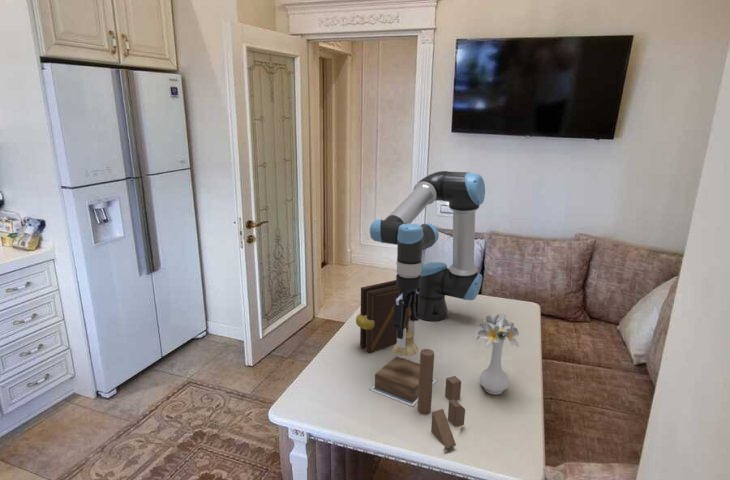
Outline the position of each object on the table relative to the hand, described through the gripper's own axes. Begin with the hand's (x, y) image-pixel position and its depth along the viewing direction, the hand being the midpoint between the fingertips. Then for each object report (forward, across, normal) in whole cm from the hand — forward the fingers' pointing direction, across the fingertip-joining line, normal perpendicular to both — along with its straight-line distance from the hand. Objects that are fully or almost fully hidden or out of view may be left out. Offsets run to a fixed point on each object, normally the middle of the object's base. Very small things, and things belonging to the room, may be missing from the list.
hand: (405, 342), depth 143 cm
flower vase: (+16, -16, +24) cm, 33 cm away
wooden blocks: (+16, +7, +19) cm, 26 cm away
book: (+16, -19, -20) cm, 32 cm away
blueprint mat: (+16, 0, 0) cm, 16 cm away
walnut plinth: (+16, 0, 0) cm, 16 cm away
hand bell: (+3, 0, 0) cm, 3 cm away
